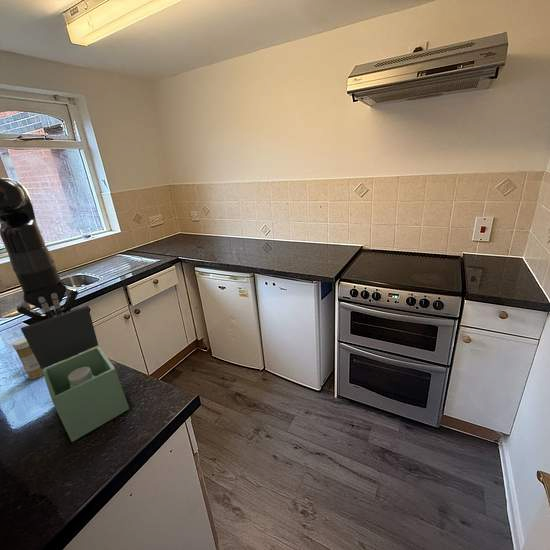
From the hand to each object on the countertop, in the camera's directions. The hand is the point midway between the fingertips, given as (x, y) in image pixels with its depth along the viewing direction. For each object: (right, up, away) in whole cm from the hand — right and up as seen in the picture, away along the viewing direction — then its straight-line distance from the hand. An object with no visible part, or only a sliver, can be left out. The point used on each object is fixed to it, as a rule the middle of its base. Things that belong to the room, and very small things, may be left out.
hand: (61, 330), depth 76 cm
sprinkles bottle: (-23, -19, +22) cm, 37 cm away
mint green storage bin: (+5, -22, +5) cm, 24 cm away
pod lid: (+1, -2, 0) cm, 2 cm away
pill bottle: (+5, -22, +5) cm, 23 cm away
